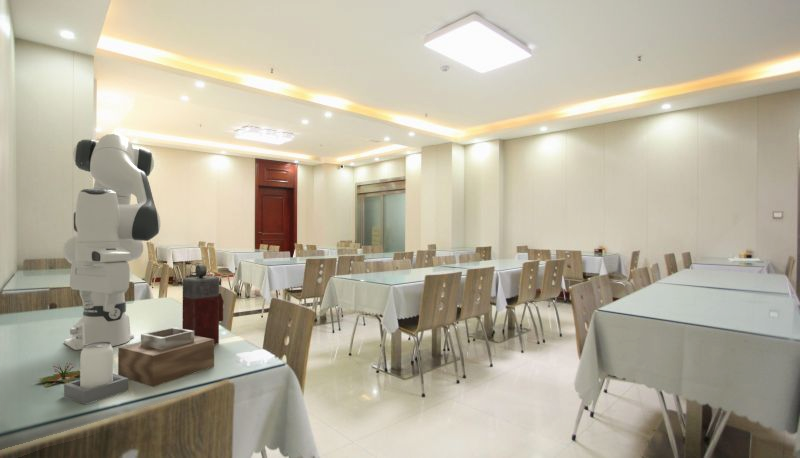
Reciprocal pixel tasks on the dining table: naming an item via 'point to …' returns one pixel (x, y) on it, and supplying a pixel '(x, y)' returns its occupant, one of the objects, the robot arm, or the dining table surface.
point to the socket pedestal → (165, 356)
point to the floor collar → (95, 390)
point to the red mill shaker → (202, 305)
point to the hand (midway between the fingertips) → (98, 309)
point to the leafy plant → (61, 376)
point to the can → (96, 364)
